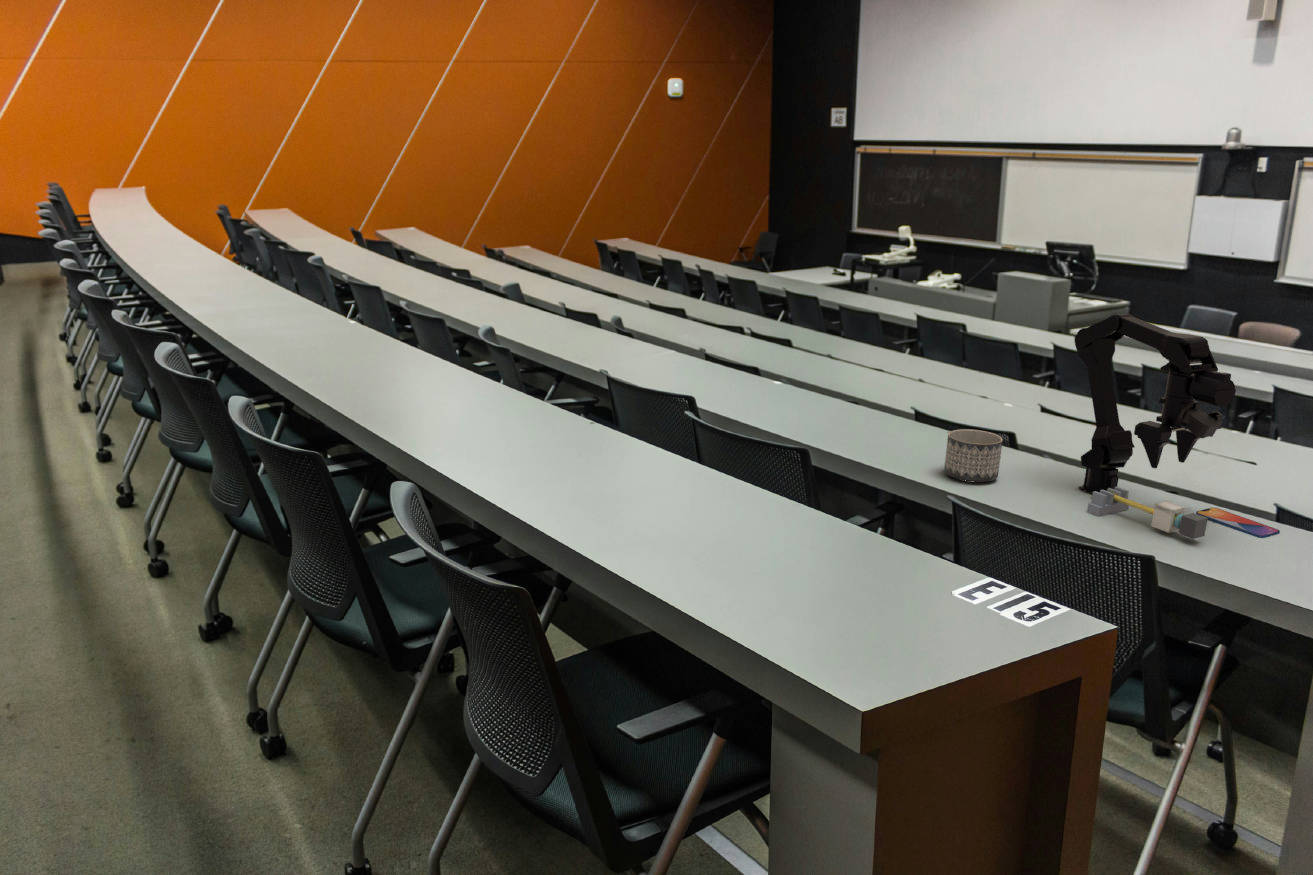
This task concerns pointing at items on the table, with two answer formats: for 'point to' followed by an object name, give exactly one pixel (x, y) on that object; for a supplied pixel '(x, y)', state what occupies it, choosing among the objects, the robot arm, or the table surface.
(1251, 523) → the smartphone
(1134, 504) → the rod
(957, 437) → the planter
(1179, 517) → the teal puck
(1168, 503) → the sleeve
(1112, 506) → the comb
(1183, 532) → the dark grey cube
